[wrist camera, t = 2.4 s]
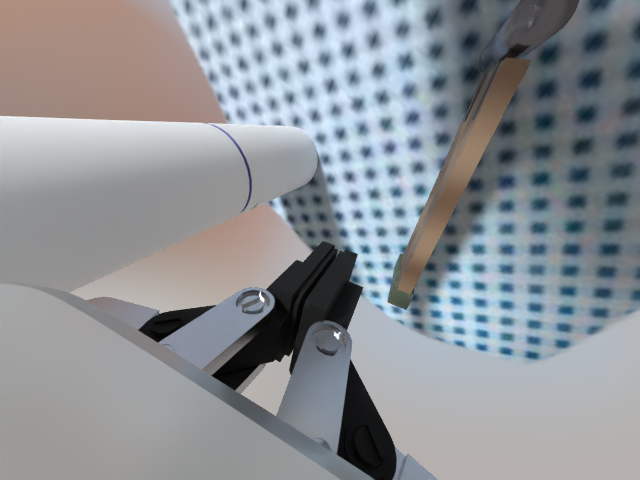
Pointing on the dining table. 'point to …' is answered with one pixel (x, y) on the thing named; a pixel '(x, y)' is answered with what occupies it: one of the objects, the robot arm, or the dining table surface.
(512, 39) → the hinge post
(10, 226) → the cylindrical container
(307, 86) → the dining table surface
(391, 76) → the dining table surface
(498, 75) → the wooden plank on edge
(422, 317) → the dining table surface
